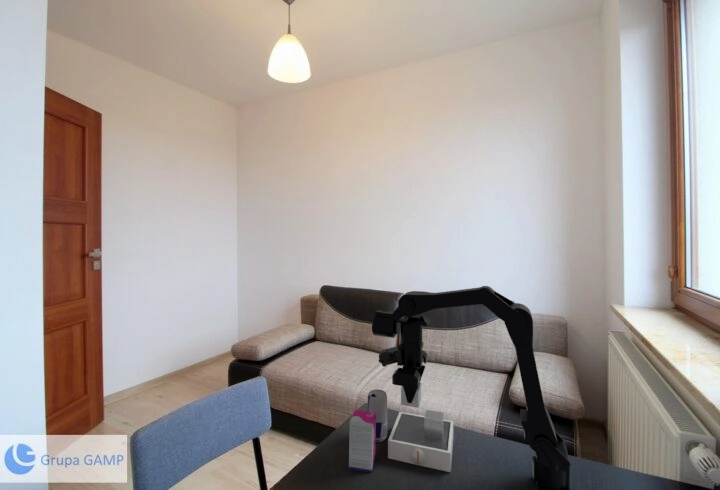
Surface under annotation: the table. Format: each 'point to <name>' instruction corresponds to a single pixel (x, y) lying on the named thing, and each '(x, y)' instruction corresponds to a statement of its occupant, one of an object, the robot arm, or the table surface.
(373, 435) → the supplement box
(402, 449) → the base
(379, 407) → the energy drink
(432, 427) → the block
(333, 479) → the table surface
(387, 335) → the robot arm
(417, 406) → the block
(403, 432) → the pan
